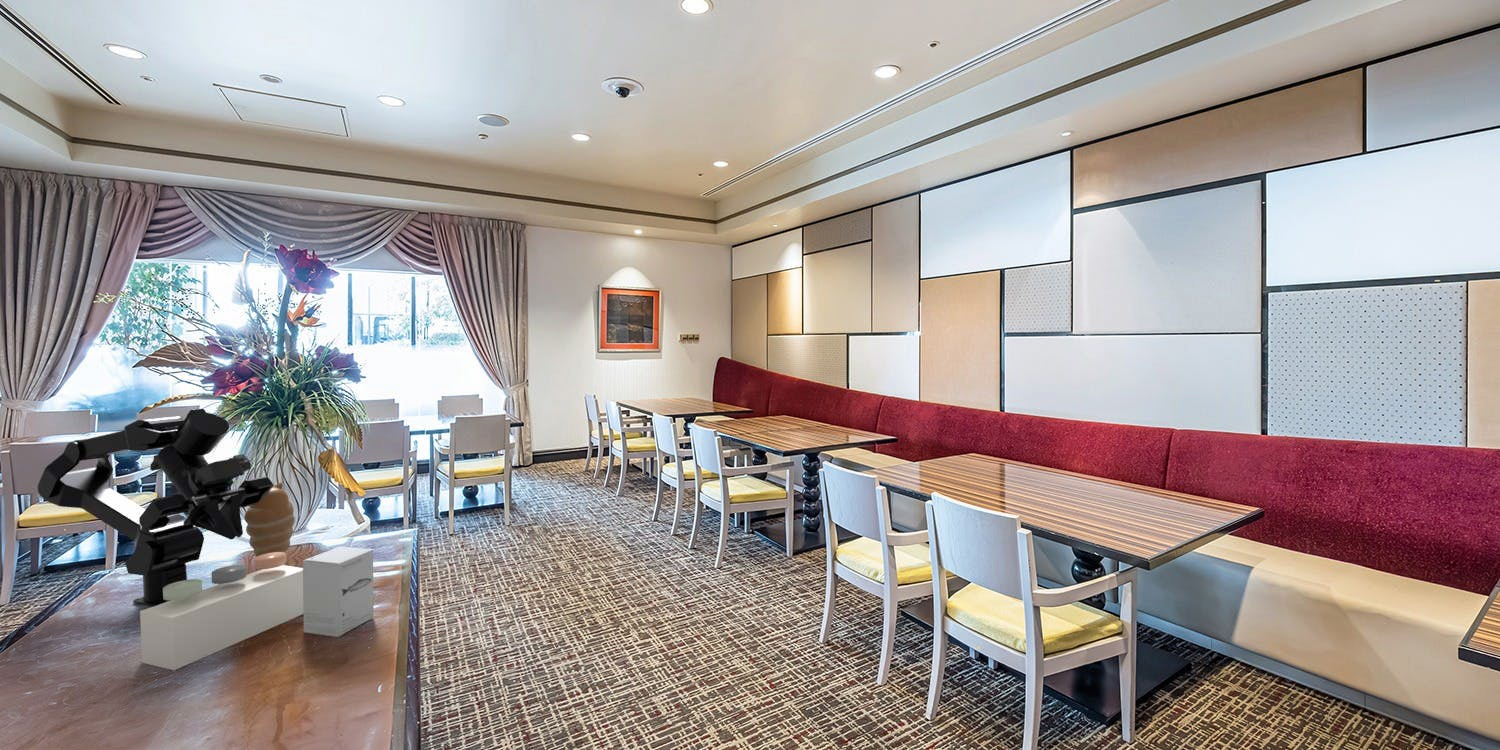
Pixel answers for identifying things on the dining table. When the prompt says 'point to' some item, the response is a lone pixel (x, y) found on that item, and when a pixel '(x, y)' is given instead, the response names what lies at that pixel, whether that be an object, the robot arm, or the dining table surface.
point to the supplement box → (338, 591)
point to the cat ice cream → (270, 522)
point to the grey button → (229, 574)
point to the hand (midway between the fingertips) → (237, 536)
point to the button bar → (220, 616)
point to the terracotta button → (270, 560)
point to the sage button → (182, 589)
